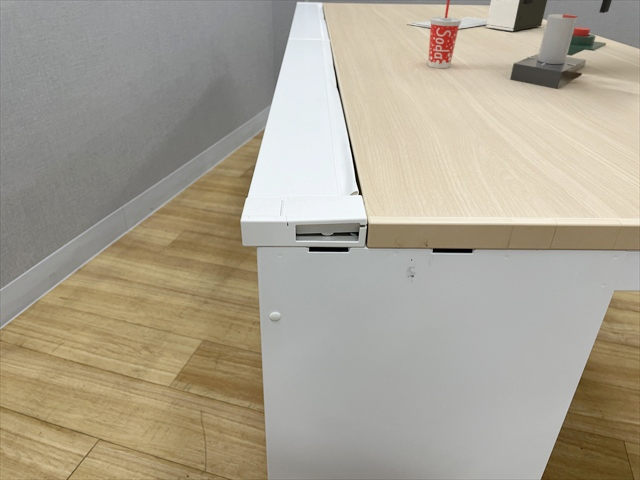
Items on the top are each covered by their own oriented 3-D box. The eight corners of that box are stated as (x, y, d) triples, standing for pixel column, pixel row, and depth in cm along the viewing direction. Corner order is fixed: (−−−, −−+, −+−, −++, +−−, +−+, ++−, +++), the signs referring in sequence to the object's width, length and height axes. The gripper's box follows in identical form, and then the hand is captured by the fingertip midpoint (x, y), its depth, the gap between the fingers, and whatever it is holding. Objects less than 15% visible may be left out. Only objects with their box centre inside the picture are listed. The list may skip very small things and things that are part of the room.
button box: (603, 52, 118) (608, 34, 116) (590, 58, 111) (596, 40, 109) (560, 46, 123) (565, 29, 121) (546, 52, 117) (551, 34, 115)
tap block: (536, 67, 103) (540, 51, 101) (582, 75, 98) (587, 59, 96) (509, 79, 94) (513, 62, 92) (557, 88, 89) (563, 70, 87)
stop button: (589, 36, 115) (592, 28, 115) (585, 38, 113) (587, 30, 112) (574, 34, 117) (576, 26, 117) (569, 36, 115) (571, 28, 114)
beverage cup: (418, 65, 102) (428, -10, 94) (432, 60, 106) (442, -12, 98) (446, 70, 99) (458, -7, 91) (458, 65, 103) (471, -9, 95)
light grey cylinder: (533, 61, 94) (544, 14, 90) (542, 57, 97) (554, 11, 93) (559, 65, 91) (572, 17, 87) (568, 61, 94) (581, 14, 90)
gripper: (518, -138, 82) (491, 1, 94) (690, -146, 69) (634, 18, 80) (535, -133, 87) (507, -2, 98) (699, -140, 73) (644, 13, 85)
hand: (564, 7), depth 89 cm, fingers open, 13 cm apart
